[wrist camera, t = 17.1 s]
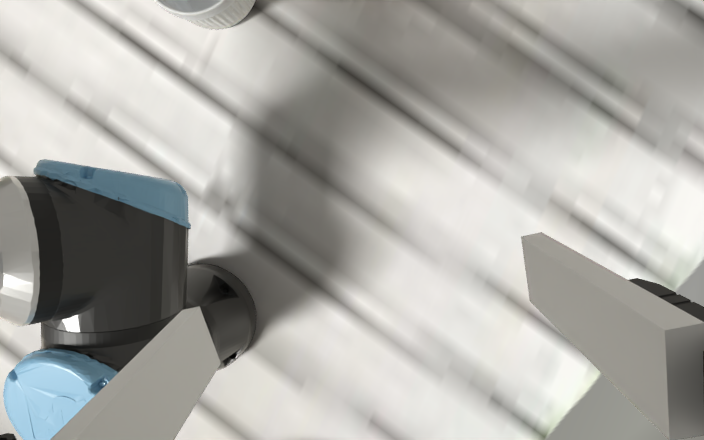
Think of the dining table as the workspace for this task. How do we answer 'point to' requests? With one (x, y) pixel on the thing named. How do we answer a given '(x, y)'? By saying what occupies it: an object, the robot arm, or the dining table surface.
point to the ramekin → (208, 11)
